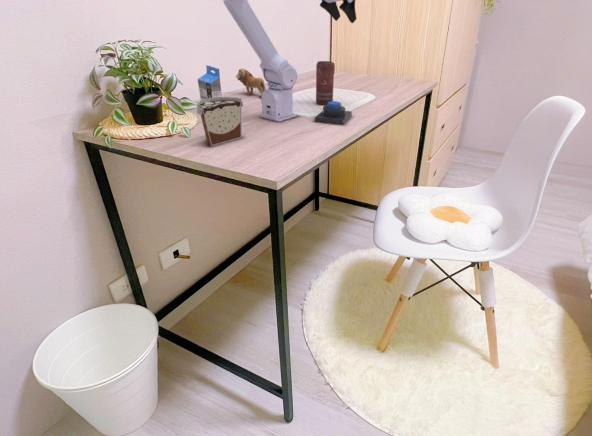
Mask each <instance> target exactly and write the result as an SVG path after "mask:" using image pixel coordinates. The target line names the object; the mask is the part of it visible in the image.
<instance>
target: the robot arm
mask: <svg viewBox="0 0 592 436" xmlns="http://www.w3.org/2000/svg"><path fill="white" fill-rule="evenodd" d="M222 1H223V4H224V6H225V8H226V9H227V11H228V12H229V14H230V15H231V16H232V18H233V20H234V22H235V23H236V25H237V26H238V27H239V29H240V31H241V32H242V34H243V35H244V37H245V39H246V40H247V42H248V43H249V45H250V46H251V48H252V49H253V51H254V53H255V54H256V55H257V57H258V58H259V60H260V61H261V62H260V63H259V67H260V69H261V71H262V76H263V80H265V81H266V82H267V89H266V90H264V92H263V93H262V94H261V96H260V100H261V101H260V102H261V115H260V118H264V119H267V120H270V121H275V122H283V121H287V120H290V119H293V118H296V117H299V113H295V112H294V107H293V106H294V105H293V103H294V102H293V89H294V86H295V85H296V83H297V81H298V72H297V70H296V68H295V67H294V66H293V65H291V64H290V63H289V61H288V60H287V59H286V58H285V57H284V56H283V55H281V54H280V53H279V52H278V51H277V48H276V47H275V45H274V43H273V42H272V39H271V38H270V37H269V35H268V33H267V32H266V30H265V29H264V26H263V25H262V23H261V22H260V20H259V18H258V16H257V15H256V13H255V12H254V10H253V8H252V7H251V5H250V3H249V1H248V0H222ZM340 1H342V2H341V4H340V5H339V7H338V4H337V2H340ZM319 6H320V8H322V9H323V10H325V11H326V12H327V13H328V14H329V15H330V16H331V18H333V20H334V21H335V22H337V21H338V20H339V19H340V18H341V13H340V10H341V11H342V12H343V13H344V14H345V16H346V17H347V19H348V21H349V22H350V23H351V24H354V23H355V21H357V13H356V12H357V11H356V0H321V2H320V4H319ZM339 9H340V10H339Z"/></svg>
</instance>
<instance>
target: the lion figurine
mask: <svg viewBox="0 0 592 436" xmlns="http://www.w3.org/2000/svg"><path fill="white" fill-rule="evenodd" d="M235 78H236V79H237V81H239V82H240V83H241V84H242V85H243V86H244V87H245V89H246V92H245V95H246V96H249V95H250V94H254V89H257V91H258V92H259V93H260V95H262V93H263V92H264V91H265V90H267V89H266V85H265V81H264V80H265V79H264V78H262V77H254V75H253V74H252V73H251V72H249V70H247V69H246V68H245V69H244V68H239V69H238V72H237V74H236V75H235Z"/></svg>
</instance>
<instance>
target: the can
mask: <svg viewBox="0 0 592 436" xmlns="http://www.w3.org/2000/svg"><path fill="white" fill-rule="evenodd" d="M315 67H316V69H315V70H316V71H315V103H316V104H317V105H318V106H327V105H328V102H330V101H334V81H335V80H334V79H335V71H336V70H335V68H336V66H335V63H334V62H333V61H327V60H320V61H317V63H316V66H315Z"/></svg>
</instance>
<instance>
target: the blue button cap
mask: <svg viewBox="0 0 592 436" xmlns="http://www.w3.org/2000/svg"><path fill="white" fill-rule="evenodd" d="M341 106H342V103H341V102H340V101H334V100H333V101H330V102H328V109H331V110H339V109H341Z"/></svg>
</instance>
